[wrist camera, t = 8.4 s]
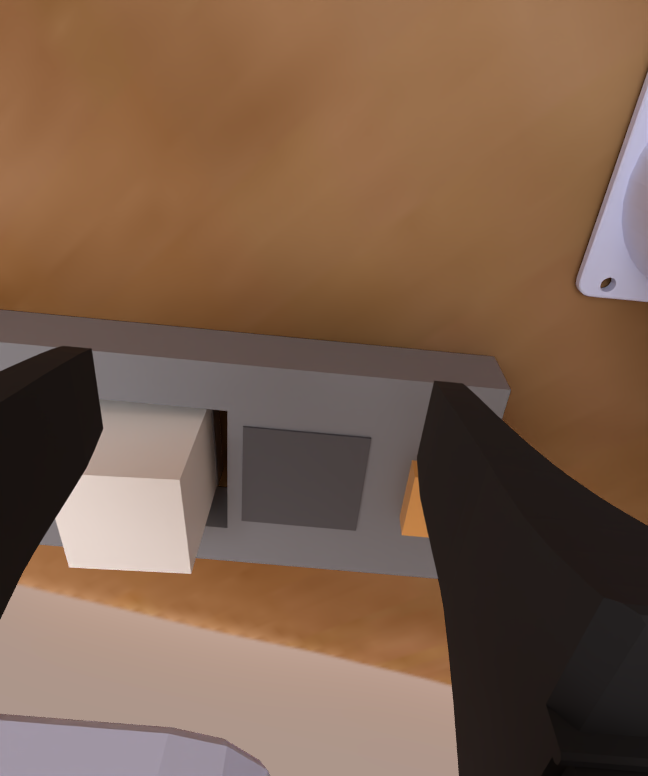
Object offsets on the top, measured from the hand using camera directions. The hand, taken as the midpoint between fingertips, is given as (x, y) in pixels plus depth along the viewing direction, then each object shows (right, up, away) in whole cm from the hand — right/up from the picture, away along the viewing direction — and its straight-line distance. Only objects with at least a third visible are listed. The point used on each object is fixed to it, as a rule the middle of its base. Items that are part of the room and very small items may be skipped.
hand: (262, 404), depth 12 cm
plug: (-5, -1, +12) cm, 13 cm away
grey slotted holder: (-2, -2, +12) cm, 13 cm away
